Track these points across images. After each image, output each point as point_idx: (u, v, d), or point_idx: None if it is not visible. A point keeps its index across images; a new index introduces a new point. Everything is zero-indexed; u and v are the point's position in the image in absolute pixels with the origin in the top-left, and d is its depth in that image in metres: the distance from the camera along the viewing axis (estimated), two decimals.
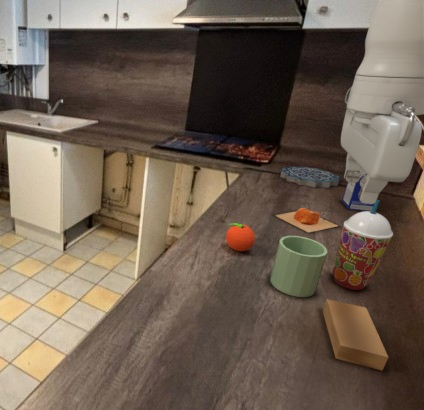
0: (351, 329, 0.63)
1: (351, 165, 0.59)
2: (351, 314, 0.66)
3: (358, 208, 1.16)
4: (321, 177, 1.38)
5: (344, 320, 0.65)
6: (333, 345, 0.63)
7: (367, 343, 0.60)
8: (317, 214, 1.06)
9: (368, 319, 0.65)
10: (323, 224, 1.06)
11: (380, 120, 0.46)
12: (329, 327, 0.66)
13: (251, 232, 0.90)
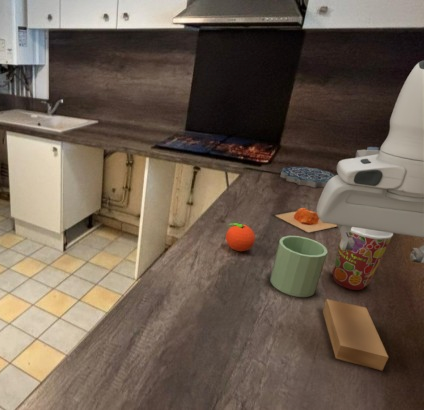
0: (351, 329, 0.63)
1: (346, 235, 0.58)
2: (351, 314, 0.66)
3: None
4: (321, 177, 1.38)
5: (344, 320, 0.65)
6: (333, 345, 0.63)
7: (367, 343, 0.60)
8: None
9: (368, 319, 0.65)
10: (323, 224, 1.06)
11: None
12: (329, 327, 0.66)
13: (251, 232, 0.90)
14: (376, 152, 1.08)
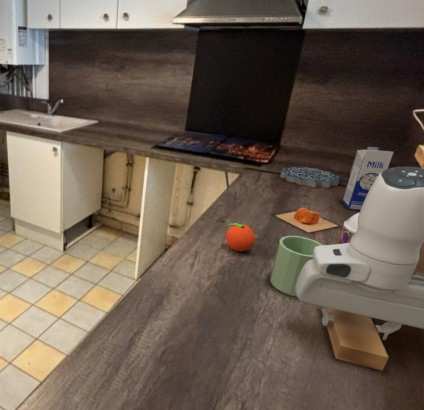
0: (352, 329, 0.63)
1: (327, 314, 0.64)
2: (352, 314, 0.66)
3: (358, 208, 1.16)
4: (321, 177, 1.38)
5: (344, 321, 0.65)
6: (333, 345, 0.62)
7: (367, 343, 0.60)
8: (317, 214, 1.06)
9: (368, 319, 0.65)
10: (323, 224, 1.06)
11: (423, 291, 0.56)
12: (329, 327, 0.66)
13: (251, 232, 0.90)
14: (376, 152, 1.08)
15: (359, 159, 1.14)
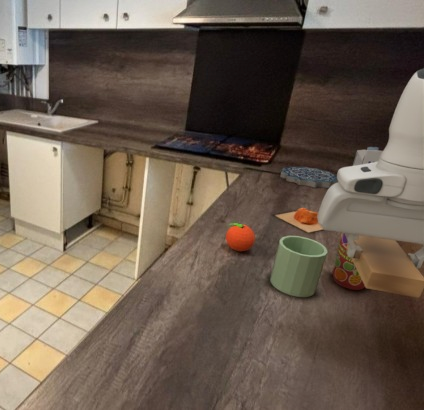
0: (382, 258, 0.57)
1: (354, 243, 0.58)
2: (380, 245, 0.60)
3: None
4: (321, 177, 1.38)
5: (372, 251, 0.59)
6: (362, 275, 0.56)
7: (401, 269, 0.54)
8: (317, 214, 1.06)
9: (399, 249, 0.59)
10: None
11: None
12: (356, 259, 0.60)
13: (251, 232, 0.90)
14: (376, 152, 1.08)
15: (359, 159, 1.14)
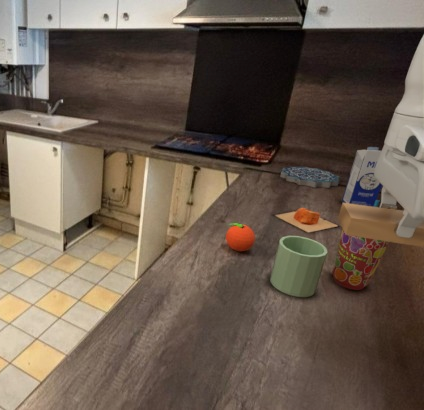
0: None
1: None
2: (371, 212, 0.56)
3: None
4: (321, 177, 1.38)
5: (395, 219, 0.54)
6: None
7: None
8: (317, 214, 1.06)
9: (370, 207, 0.58)
10: (323, 224, 1.06)
11: None
12: (397, 236, 0.53)
13: (251, 232, 0.90)
14: (376, 152, 1.08)
15: (359, 159, 1.14)
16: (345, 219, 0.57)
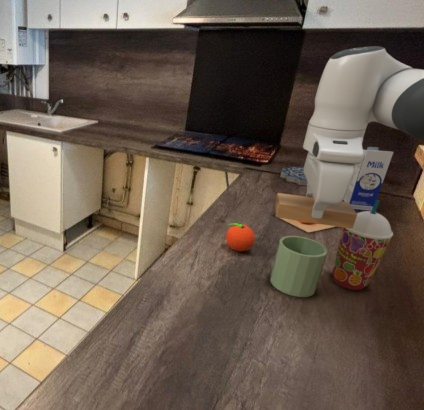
0: None
1: None
2: (296, 200, 0.73)
3: (358, 208, 1.16)
4: None
5: (312, 205, 0.71)
6: (337, 223, 0.69)
7: None
8: None
9: (297, 196, 0.75)
10: (323, 224, 1.06)
11: None
12: (312, 217, 0.70)
13: (251, 232, 0.90)
14: (376, 152, 1.08)
15: None
16: (277, 205, 0.74)
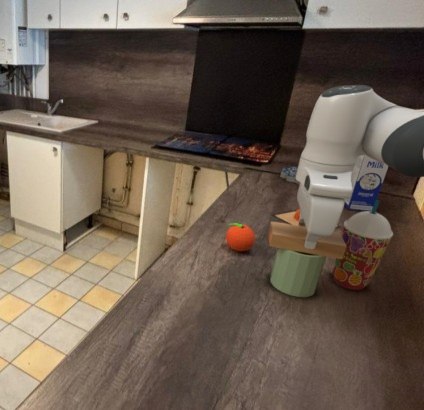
0: None
1: None
2: (289, 229, 0.76)
3: (358, 208, 1.16)
4: None
5: (304, 235, 0.73)
6: (327, 254, 0.71)
7: None
8: None
9: (290, 225, 0.78)
10: None
11: None
12: (304, 248, 0.73)
13: (251, 232, 0.90)
14: None
15: (359, 159, 1.14)
16: (270, 234, 0.77)
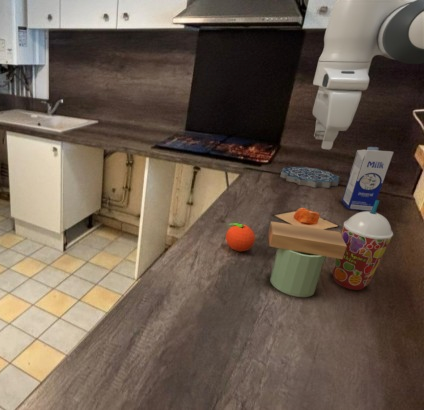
0: (314, 235, 0.73)
1: None
2: (289, 229, 0.76)
3: (358, 208, 1.16)
4: (321, 177, 1.38)
5: (304, 235, 0.73)
6: (327, 254, 0.71)
7: (329, 234, 0.74)
8: (317, 214, 1.06)
9: (290, 225, 0.78)
10: (322, 224, 1.06)
11: None
12: (304, 248, 0.73)
13: (251, 232, 0.90)
14: (376, 152, 1.08)
15: (359, 159, 1.14)
16: (270, 234, 0.77)
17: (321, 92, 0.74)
